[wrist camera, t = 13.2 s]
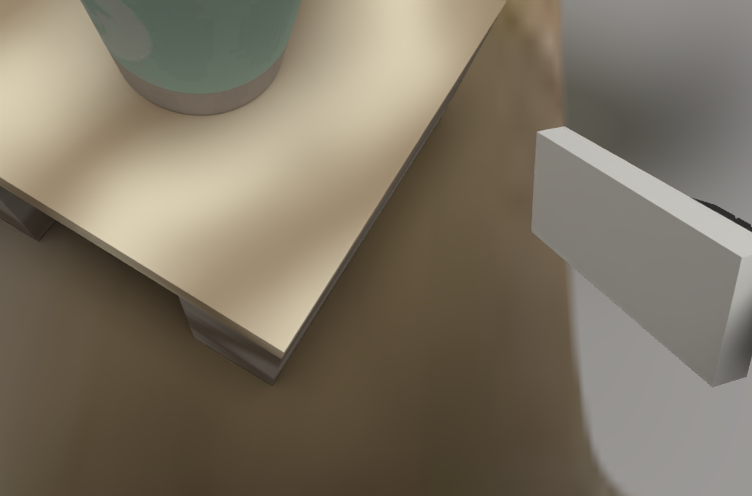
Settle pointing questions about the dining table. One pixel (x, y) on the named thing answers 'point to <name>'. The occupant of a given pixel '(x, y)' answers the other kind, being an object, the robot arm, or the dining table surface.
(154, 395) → the dining table surface
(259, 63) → the coffee cup
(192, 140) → the shelf
